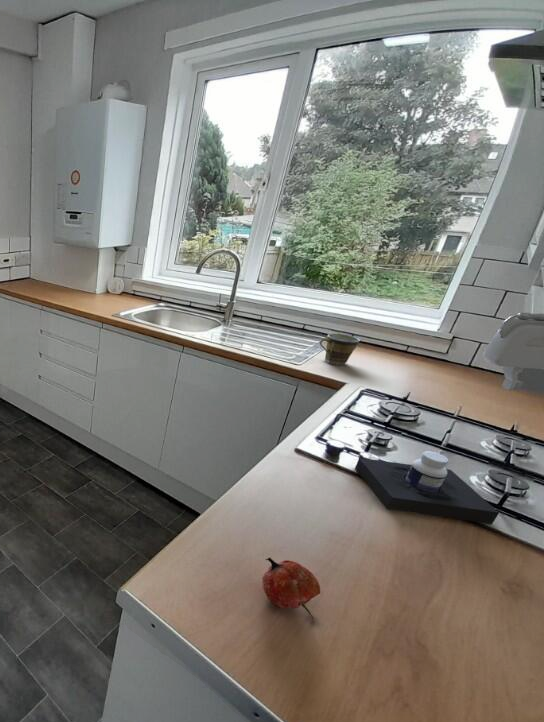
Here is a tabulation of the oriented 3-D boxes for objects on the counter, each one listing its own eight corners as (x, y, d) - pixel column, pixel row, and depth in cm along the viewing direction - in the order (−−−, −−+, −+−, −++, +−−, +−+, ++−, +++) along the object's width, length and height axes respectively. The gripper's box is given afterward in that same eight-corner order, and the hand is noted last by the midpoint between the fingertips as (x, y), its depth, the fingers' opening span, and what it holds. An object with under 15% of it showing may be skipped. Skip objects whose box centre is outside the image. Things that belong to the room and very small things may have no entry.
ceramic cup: (339, 357, 162) (348, 333, 157) (357, 367, 153) (366, 342, 148) (306, 357, 162) (314, 333, 158) (321, 366, 153) (330, 341, 149)
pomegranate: (308, 606, 66) (268, 547, 69) (348, 606, 60) (303, 541, 63) (280, 632, 63) (240, 569, 66) (320, 634, 57) (273, 565, 60)
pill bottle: (398, 482, 91) (416, 446, 87) (429, 490, 89) (449, 453, 85) (402, 496, 87) (421, 458, 83) (436, 505, 85) (457, 467, 80)
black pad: (444, 480, 92) (450, 469, 91) (492, 524, 80) (499, 512, 79) (354, 468, 96) (359, 458, 95) (386, 509, 84) (392, 497, 82)
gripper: (525, 316, 66) (484, 393, 72) (690, 325, 62) (633, 406, 67) (495, 307, 71) (459, 379, 77) (645, 315, 67) (595, 390, 73)
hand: (541, 392), depth 72 cm, fingers open, 8 cm apart
